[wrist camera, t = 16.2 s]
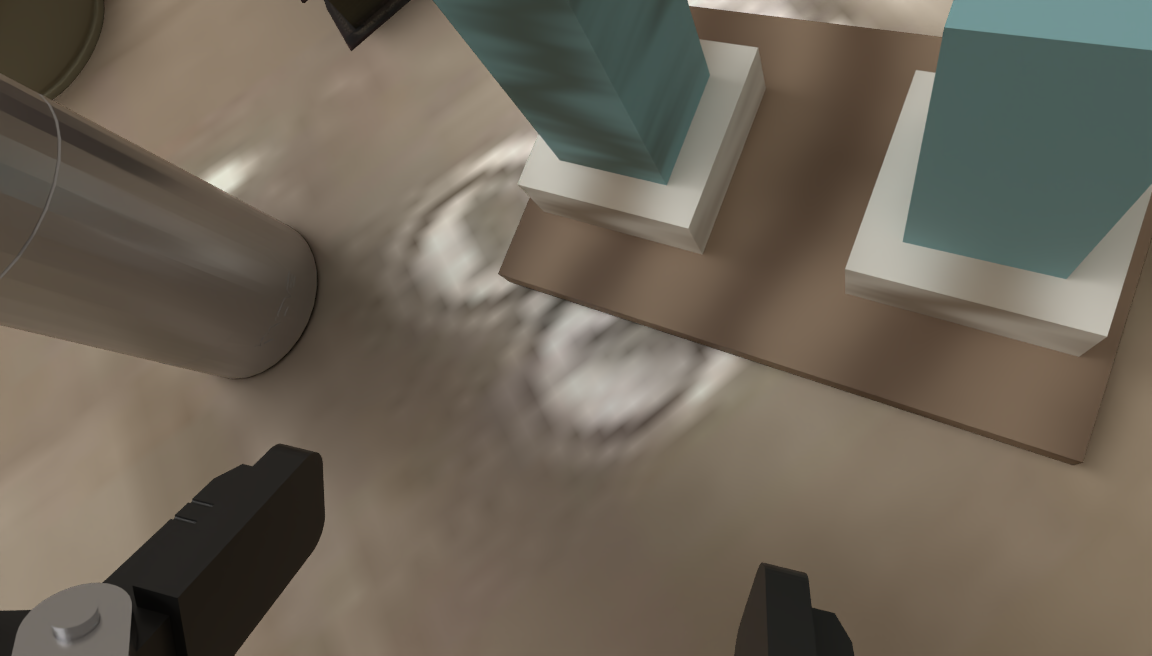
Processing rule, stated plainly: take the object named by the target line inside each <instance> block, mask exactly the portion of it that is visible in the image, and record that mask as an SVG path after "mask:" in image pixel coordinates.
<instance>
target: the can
mask: <svg viewBox="0 0 1152 656" xmlns="http://www.w3.org/2000/svg"><path fill="white" fill-rule="evenodd" d="M103 19H104V0H0V73H1V74H3V75H5V76H6V77H8V78H10V79H12V80H14V81H16V82H18V83H20V84H22V85H23V86H25V87H27V88H29V89H31V90H33V91H35V92H37V93H39V94H41V95H43V96H45V97H47V98H49V99H51V100H52V99H54V98H55V97H57V96H58V95H59V94H60V93H62V92H63V91H64V90H65V89H66V88H67V87H68V86H69V85H70V84H71V83H72V82H73V81H74V79H75V78H76V77H77V76H78V75H79V73H80V72H81V70H82V69H83V68H84V66H85V65H86V63H87V61H88V60H89V58H90V56H91V54H92V52H93V50H94V48H95V46H96V44H97V41H98V39H99V36H100V33H101V29H102V25H103Z"/></svg>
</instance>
